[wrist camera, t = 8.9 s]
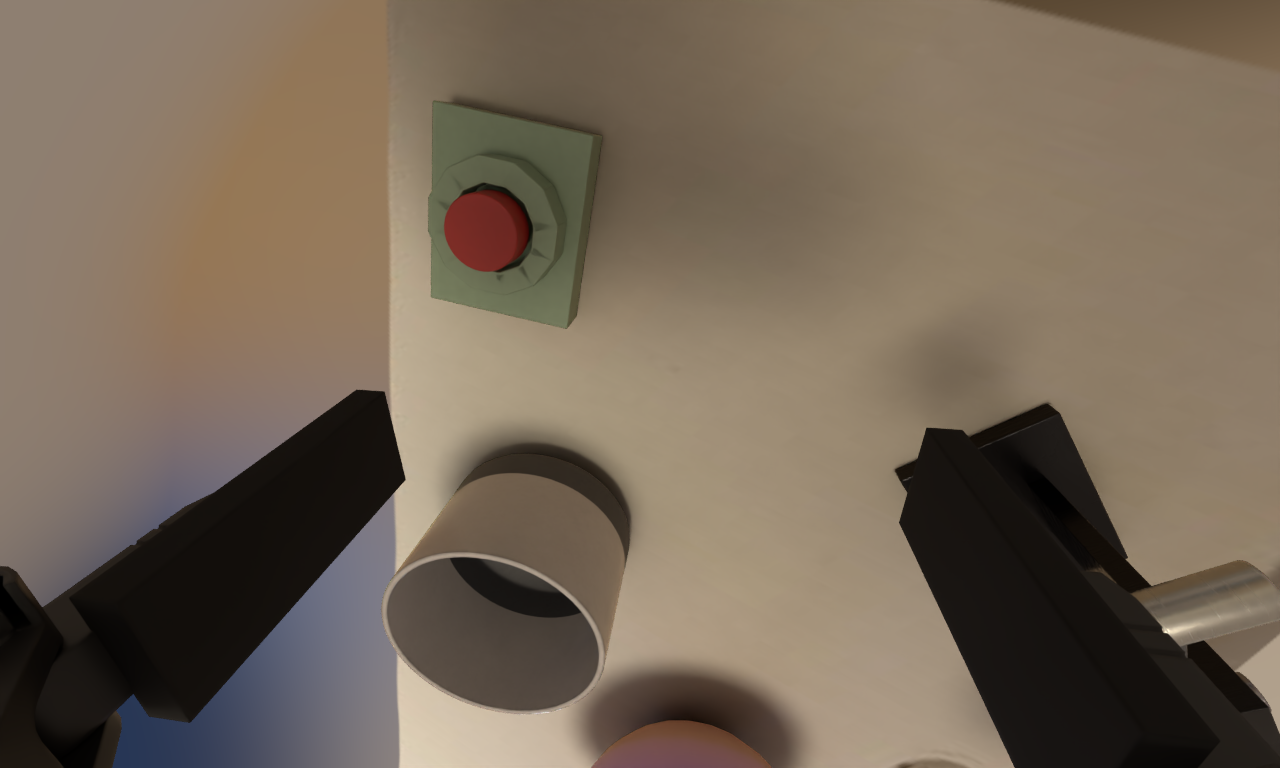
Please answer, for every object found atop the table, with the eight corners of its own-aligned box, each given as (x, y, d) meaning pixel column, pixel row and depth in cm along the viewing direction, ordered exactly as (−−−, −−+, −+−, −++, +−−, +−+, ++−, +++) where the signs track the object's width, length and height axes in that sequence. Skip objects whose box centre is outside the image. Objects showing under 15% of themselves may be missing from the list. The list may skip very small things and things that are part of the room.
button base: (452, 102, 27) (412, 97, 23) (602, 135, 26) (585, 135, 23) (448, 287, 31) (413, 307, 28) (576, 317, 31) (558, 340, 27)
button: (460, 182, 25) (443, 185, 23) (533, 198, 25) (520, 202, 23) (458, 255, 26) (442, 263, 25) (526, 271, 26) (514, 279, 25)
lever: (1020, 602, 17) (1073, 683, 15) (1226, 536, 15) (1315, 620, 13) (1075, 705, 24) (1115, 768, 22) (1217, 670, 22) (1274, 736, 20)
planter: (663, 494, 36) (644, 620, 26) (590, 604, 41) (553, 741, 32) (494, 412, 35) (412, 513, 25) (443, 537, 40) (360, 658, 31)
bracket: (894, 469, 33) (1016, 697, 19) (1047, 402, 29) (1319, 619, 16) (970, 592, 36) (1119, 858, 23) (1115, 544, 33) (1385, 820, 20)
